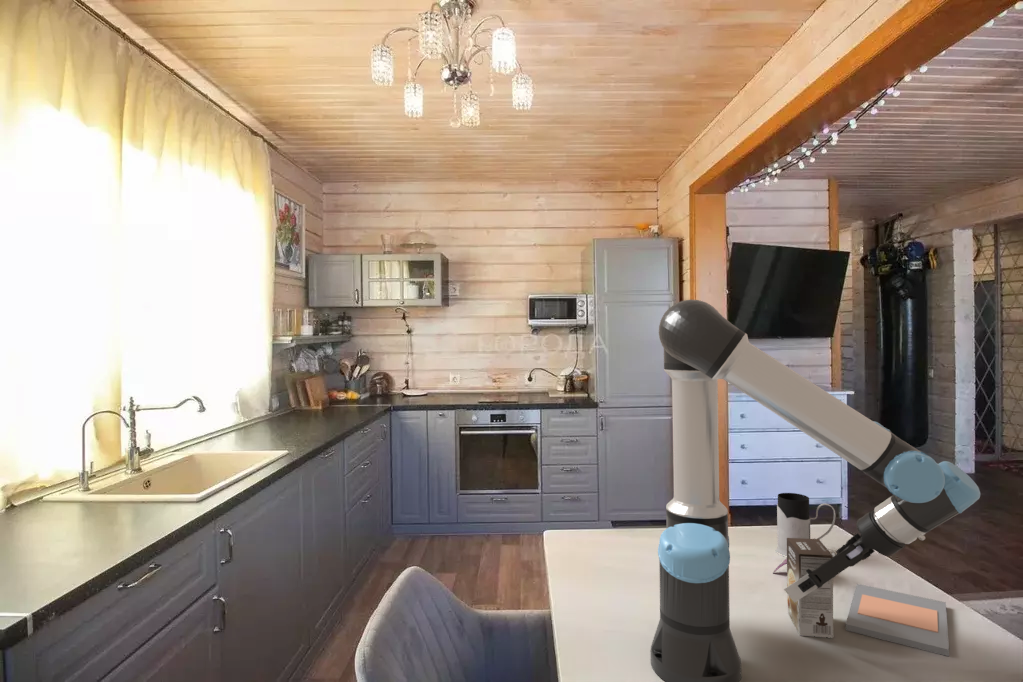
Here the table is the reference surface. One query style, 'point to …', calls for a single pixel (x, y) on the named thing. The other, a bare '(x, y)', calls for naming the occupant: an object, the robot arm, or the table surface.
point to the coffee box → (817, 606)
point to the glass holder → (794, 519)
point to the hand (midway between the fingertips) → (802, 584)
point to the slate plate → (899, 618)
